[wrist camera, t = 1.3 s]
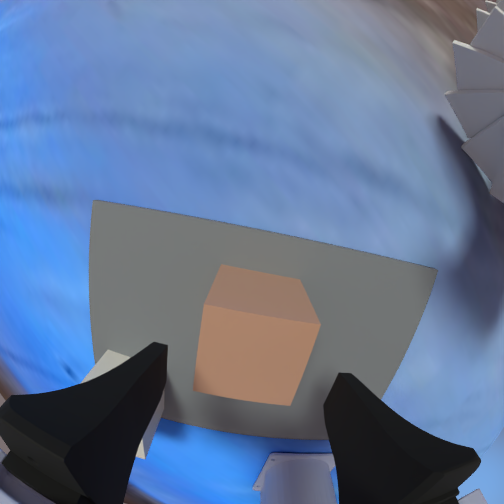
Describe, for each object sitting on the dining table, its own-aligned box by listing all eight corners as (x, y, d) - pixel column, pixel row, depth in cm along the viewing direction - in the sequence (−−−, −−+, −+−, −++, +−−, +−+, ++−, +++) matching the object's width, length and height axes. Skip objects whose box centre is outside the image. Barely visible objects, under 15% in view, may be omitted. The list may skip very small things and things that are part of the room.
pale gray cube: (164, 408, 20) (145, 459, 14) (112, 391, 20) (85, 436, 14) (165, 367, 19) (140, 421, 13) (107, 349, 19) (71, 394, 13)
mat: (354, 435, 21) (355, 438, 21) (102, 394, 21) (100, 397, 20) (434, 268, 17) (438, 270, 17) (96, 199, 16) (93, 200, 16)
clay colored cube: (281, 346, 18) (290, 405, 12) (209, 333, 18) (192, 390, 12) (300, 279, 17) (321, 324, 11) (221, 264, 17) (203, 303, 11)
